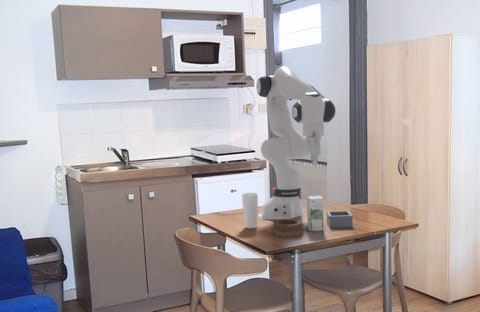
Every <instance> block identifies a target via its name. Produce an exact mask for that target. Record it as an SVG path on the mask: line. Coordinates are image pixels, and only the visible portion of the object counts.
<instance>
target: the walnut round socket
mask: <svg viewBox="0 0 480 312" xmlns="http://www.w3.org/2000/svg"><path fill="white" fill-rule="evenodd" d="M303 228H304V226H303V221H302V220H301V219H297V218H292V219H281V220H279V219H276V220H275V221H273V232H274V233H273V235H274V236H275V237H277V238H283V239H293V238H298V237H301V236H303V235H304V229H303Z"/></svg>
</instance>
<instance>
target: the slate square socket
mask: <svg viewBox="0 0 480 312" xmlns="http://www.w3.org/2000/svg"><path fill="white" fill-rule="evenodd" d="M326 223H327V224H328V227H329V228H332V229H334V228H335V229H336V228H337V229H338V228H353V227H354V226H353V225H354V224H353V223H354V222H353V215H352V212H350V210H331V211H329V210H328V211H326Z"/></svg>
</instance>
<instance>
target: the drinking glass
mask: <svg viewBox="0 0 480 312" xmlns="http://www.w3.org/2000/svg"><path fill="white" fill-rule="evenodd" d="M241 198H242V201H241V202H242V209H243V218H244V219H243V220H244V224H245V225H244V227H245V228H246V229H256V228H257V227H258V208H259V207H258V203H259V202H258V201H259V199H258V193H256V192H245V193H242V197H241Z"/></svg>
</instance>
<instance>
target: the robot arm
mask: <svg viewBox="0 0 480 312" xmlns="http://www.w3.org/2000/svg"><path fill="white" fill-rule="evenodd" d="M256 92H257V94H258V96H259V97H261V98H269V99H268V100H267V103H266V112H267V120H268V123H269V126H270V130H271V132H272V133H273V135H275V136H277V137H272V138H271V137H270V138H268V139H264V141H263V142H262V143H261V146H260V153H261V155H262V157H263V159H265V160H266V161H267V162H269V163H270V164H271V165H272V167H273V169H274V171H275V175H276V176H275V177H276V187H272V188H271V191H272V194H273V195H272V197H270V198H269V199H268V200H267V201H265V202H264V204H263V206H262V210H261V212H259V213H257V218H258V219H261V220H281V219H295V218H297V217H301V216H305V213H304V211H303V206H302V188H301V186H300V185H301V184H300V183H301V181H300V178H301V177H300V171H298V169H297V168H295V167H294V166H290V165H289V164H288V161H289V160H301V159H305V158H309V157H310V161H311V162H310V163H311V164H312V165H313V166H314V167H315V166H318V160H319V157H320V156H321V154H322V153H321V150H322V149H321V140H322V136H325V126H324V125H325V123H327V124H328V123H329V122H331V121H332V120H333V119H334V118H335V116H336V106H335V104H334V102H332V101H331V99H329V98H326V97H325V96H324V95H323V94H322V93H320V92H319V91H318V90H317V89H316V88H315V87H314V86H312V85H311V84H310V83H307V82H305V81H303V80H302V78H301V79H300V78H299V77H298V75H297V74H296V73H295V72H294V71H293V70H292V69H291V68H290V67H288V66H281V67H280V66H279V68H276V70H274V73H273V75H264V76H261V77H259V78H258V79H257V82H256ZM288 100H289V101H296V100H297V101H296V102H295V103H294V104H293V106H292V109H291V111H292V113H291V112H290V110H289V106H288ZM298 100H299V101H298ZM291 114H292V116H291ZM292 118H293V119H292ZM293 120H294V121H295V122H297V123H299V124H302V133H301V132H300V131H299V130H298V129H297V128H296V127H295V125H294V123H293Z"/></svg>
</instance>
